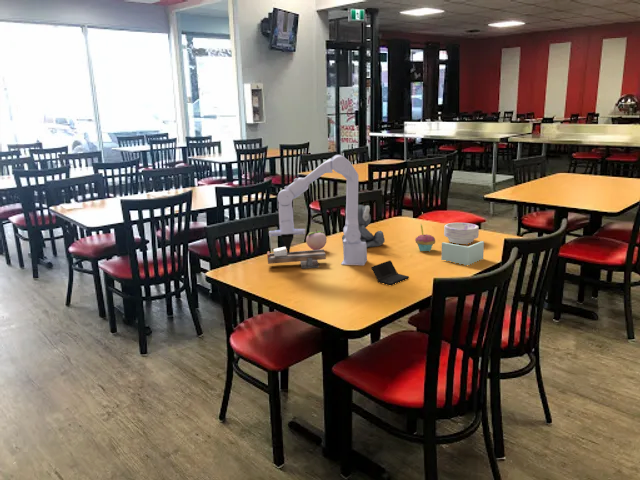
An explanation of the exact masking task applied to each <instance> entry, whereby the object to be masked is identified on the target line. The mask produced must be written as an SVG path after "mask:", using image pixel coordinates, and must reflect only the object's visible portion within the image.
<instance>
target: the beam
mask: <svg viewBox="0 0 640 480" xmlns="http://www.w3.org/2000/svg"><path fill="white" fill-rule="evenodd" d="M266 253H267V254H266V255H267V264H269V265H273V264H282V263H297V262H298V263H299V262H300V261H307V258H312V260H317V261H320V260H327V259H326V258H327V256H326V252H325V249H323V248H322V249H320V250H313V249H309V250H298V251H290V253H287V256H284V257H275V256H274V252H273V253H270V251H267V252H266Z"/></svg>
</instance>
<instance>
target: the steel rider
mask: <svg viewBox="0 0 640 480" xmlns="http://www.w3.org/2000/svg"><path fill="white" fill-rule="evenodd" d="M273 253H274V256H275V257H284V256H287V249H286V246H282V247H276V248H273Z"/></svg>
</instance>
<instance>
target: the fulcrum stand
mask: <svg viewBox="0 0 640 480" xmlns="http://www.w3.org/2000/svg"><path fill="white" fill-rule="evenodd" d="M318 261H319V260H312V258H307V261H299V263H300V267H301V269H302V270H304V269H317V268H320V265H319V262H318Z"/></svg>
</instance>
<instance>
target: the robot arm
mask: <svg viewBox="0 0 640 480" xmlns="http://www.w3.org/2000/svg"><path fill="white" fill-rule="evenodd" d="M333 171H334V172H336V173H337V174H340V175H342V177H344V178H345V180H346V188H345V189H346V197H345V198H346V200H345V202H346V204H345V225H344V227H343V229H342V232H343V235H345V239H344V240H343V241H342V247H343V253H342V254H343V260H342V262H341V263H340V265H343V266H345V265H346V266H365V264H366V263H367V261H368V251H367V250H368V249H367V248H368V247H367V245H366V242H362V241H361V240H360V237H361V233H360V231H359V228H358V205H359V173H358V172H357V171H356V168H355V167H354V166H353V164H352V163H351V161H349V159H347V158H346V157H344V155H342V154H335V155H333V156H332V157H331V158H328V159H327V160H325V161H324V162H322V163H321V164H320V165H318V166H317V167H316V168H315V169H314V170H312V171H311V172H310V173H308V174H307V175H306V176H305V177H298V178H297V177H296V178H294V179H293V182H292V183H290V184H288V185H285V186H284V187H283V188H284V189H281V190H280V191H279V192H278V194H277V202H278V224H279V229H277V230H276V229H275V230H269V231H268V236H269V237H278V236H280V237H281V240H282V241H283V244H284V247H286V251H287V253H290V252H291V251H290V249H291V245H292V242H293V239H294V238H295V237H294V236H295V235H296V236H297V235H306V229H305V228H295V224H294V223H295V222H294V208H293V203H292V202H293V199H297V198H299V197H300V196H301V195H302V194H303V193H305V192H306V191H307V190H308V189H309V185H311V183H313V182H314V181H316V180H317V179H319V178H320V177H322V176H323V175H324V174H330V173H331V174H333V173H334V172H333ZM269 237H268V238H269Z"/></svg>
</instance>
